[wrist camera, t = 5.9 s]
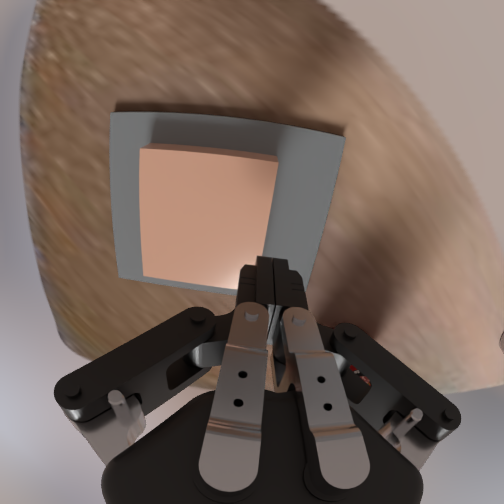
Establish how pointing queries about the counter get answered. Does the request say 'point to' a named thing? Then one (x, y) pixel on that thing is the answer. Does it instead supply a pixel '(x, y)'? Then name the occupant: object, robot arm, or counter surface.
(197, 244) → the block
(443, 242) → the counter surface
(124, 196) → the mat
